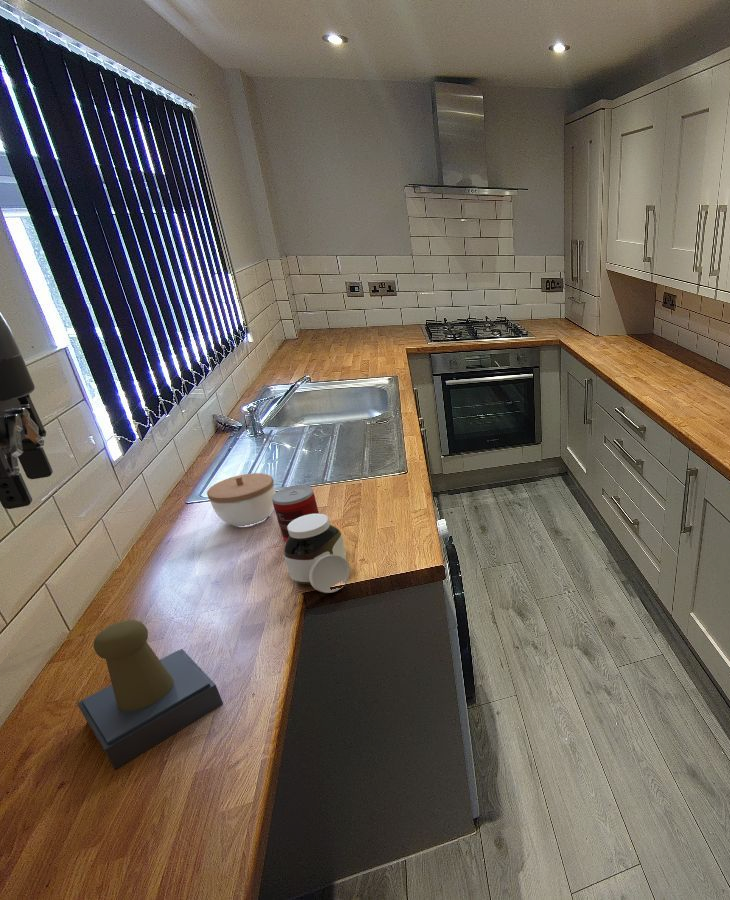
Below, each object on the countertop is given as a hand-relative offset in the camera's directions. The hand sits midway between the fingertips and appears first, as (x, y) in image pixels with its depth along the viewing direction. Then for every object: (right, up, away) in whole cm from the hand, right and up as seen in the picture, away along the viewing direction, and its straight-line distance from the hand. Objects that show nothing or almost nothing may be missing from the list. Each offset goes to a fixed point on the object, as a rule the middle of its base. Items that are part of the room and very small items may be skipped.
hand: (30, 490), depth 62 cm
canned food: (+3, -15, +52) cm, 54 cm away
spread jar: (+15, -20, +39) cm, 46 cm away
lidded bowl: (-14, -12, +60) cm, 62 cm away
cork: (+6, -28, +9) cm, 30 cm away
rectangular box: (+6, -32, +11) cm, 34 cm away
